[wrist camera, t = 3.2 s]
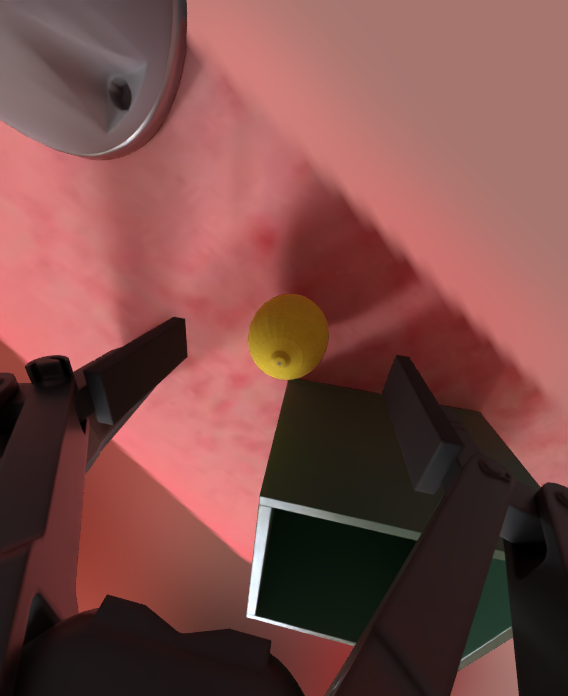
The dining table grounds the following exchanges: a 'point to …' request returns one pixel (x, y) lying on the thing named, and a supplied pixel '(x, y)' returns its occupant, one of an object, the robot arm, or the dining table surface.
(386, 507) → the green open box
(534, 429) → the dining table surface
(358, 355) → the dining table surface
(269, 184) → the dining table surface
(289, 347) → the lemon
